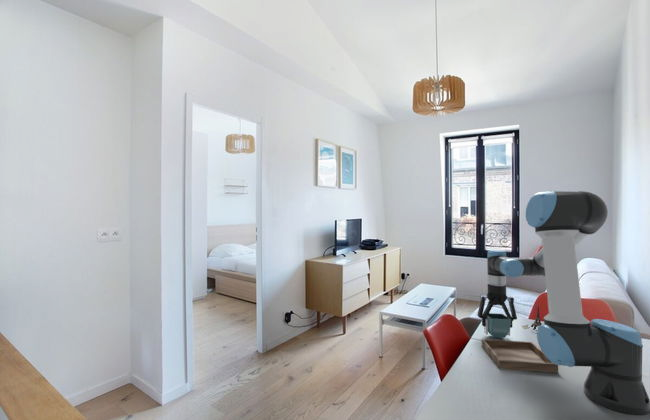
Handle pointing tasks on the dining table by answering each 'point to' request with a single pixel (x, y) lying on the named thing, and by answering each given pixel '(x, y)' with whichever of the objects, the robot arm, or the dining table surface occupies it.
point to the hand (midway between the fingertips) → (497, 333)
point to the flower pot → (498, 325)
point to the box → (518, 356)
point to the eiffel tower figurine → (535, 321)
